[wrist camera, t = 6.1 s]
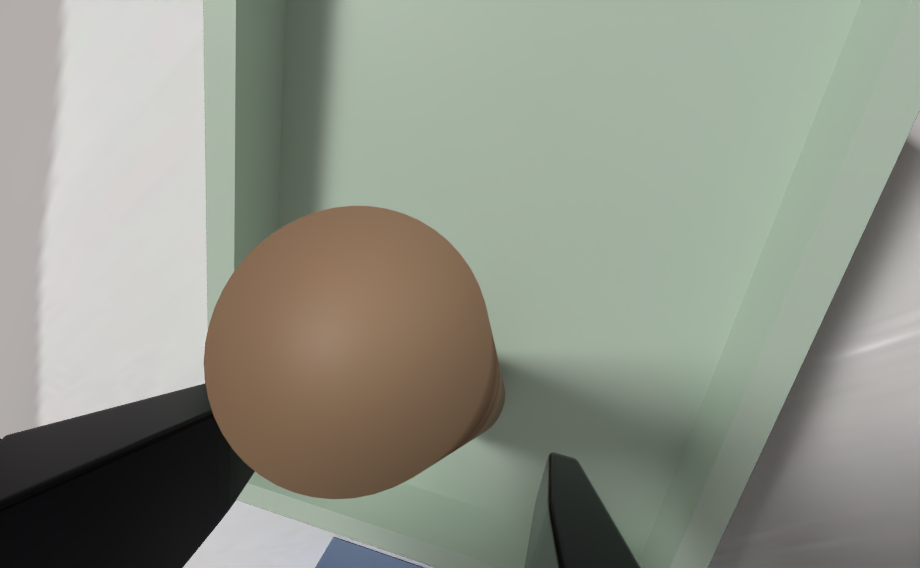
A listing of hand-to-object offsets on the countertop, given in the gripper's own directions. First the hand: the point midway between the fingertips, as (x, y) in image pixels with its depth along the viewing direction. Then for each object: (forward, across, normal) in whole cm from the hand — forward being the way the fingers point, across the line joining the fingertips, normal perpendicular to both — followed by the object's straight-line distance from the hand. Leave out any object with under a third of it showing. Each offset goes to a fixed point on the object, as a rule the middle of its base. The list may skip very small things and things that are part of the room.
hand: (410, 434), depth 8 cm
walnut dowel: (+1, 0, 0) cm, 1 cm away
